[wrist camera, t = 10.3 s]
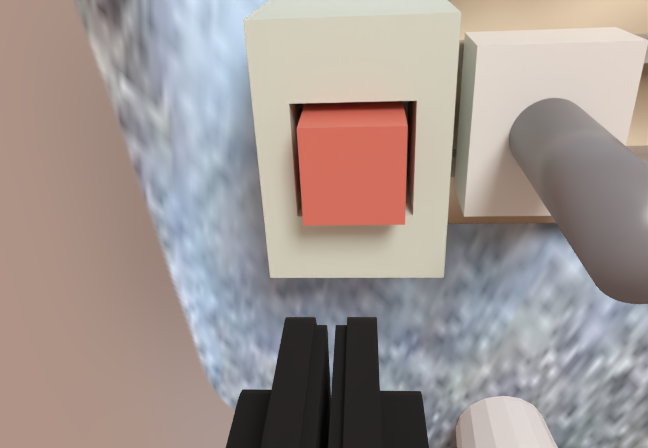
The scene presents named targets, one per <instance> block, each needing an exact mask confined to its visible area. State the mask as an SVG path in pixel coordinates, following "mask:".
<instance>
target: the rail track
mask: <svg viewBox="0 0 648 448" xmlns="http://www.w3.org/2000/svg"><path fill="white" fill-rule="evenodd" d="M448 1H449V2H450V3H452V4H453V5H454V6H455V7H456V8H457V9H458V10H459V11H460V12H461V24H460V40H459V55H458V70H457V85H456V100H455V116H454V131H453V146H452V161H451V176H450V192H449V207H448V222H447V224H474V223H556V222H555V221H554V219H553V217H552V216H474V217H464V216H463V213H462V210H461V207H460V204H459V201H458V198H457V195H456V192H455V189H454V180H455V166H456V152H457V137H458V123H459V108H460V94H461V80H462V65H463V51H464V37H465V32H483V31H513V30H542V29H572V28H601V27H617V28H620V29H622V30H624V31H627V32H629V33H632V34H634V35H637V36H639V37H642V38H644V39H647V40H648V0H448ZM626 147H627V148H629V149H630V150H631V151H632V152H633V153H635V154H636V155H637V156H638V157H639V158H640V159H642V160H643V161H644V162H645V163H646V164H648V46H647V51H646V55H645V60H644V65H643V69H642V74H641V78H640V83H639V88H638V92H637V97H636V102H635V106H634V111H633V115H632V120H631V125H630V129H629V134H628V139H627V143H626Z"/></svg>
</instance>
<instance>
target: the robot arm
mask: <svg viewBox="0 0 648 448" xmlns="http://www.w3.org/2000/svg"><path fill="white" fill-rule="evenodd" d="M226 448H429V445H428V437H427V430H426V422H425V414H424V407H423V400H422V394H421V391H380V386H379V361H378V336H377V317H348V318H347V325H336V330H335V346H334V362H333V377H332V393H331V390H330V370H329V351H328V331H327V325H317V324H316V318H315V317H286V319H285V323H284V328H283V333H282V338H281V344H280V349H279V354H278V359H277V364H276V370H275V375H274V380H273V385H272V390H242V392H241V393H240V396H239V399H238V402H237V406H236V410H235V414H234V418H233V422H232V426H231V430H230V434H229V437H228V442H227V445H226Z"/></svg>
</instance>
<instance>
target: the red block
mask: <svg viewBox="0 0 648 448" xmlns="http://www.w3.org/2000/svg"><path fill="white" fill-rule="evenodd" d="M407 135H408V125H407V120H406V115H405V111H404V106H403V101H379V102H339V103H305V105H304V108H303V111H302V114H301V117H300V120H299V123H298V126H297V141H298V155H299V170H300V185H301V199H302V214H303V226H312V225H405V210H406V172H407Z"/></svg>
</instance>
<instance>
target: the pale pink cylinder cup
mask: <svg viewBox="0 0 648 448" xmlns="http://www.w3.org/2000/svg"><path fill="white" fill-rule="evenodd" d="M456 440H457V448H558V447H557V445H556V443H555V441H554V439H553V437H552V435H551V433H550V431H549V429H548V427H547V425H546V423H545V421H544V419H543V417H542V415H541V414H540V413H539V412H538V410H537V409H536V408H535V407H534V405H532V404H530V403H528V402H526V401H524V400H522V399H520V398H514V397H507V396H498V397H492V398H485V399H483V400H481V401H479V402H476V403H474V404H472V405H470V406H469V407H468V408H467V409H466V410H465V411H464V412H463V413H462V414H461V415H460V416H459V419H458V423H457V426H456Z"/></svg>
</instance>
